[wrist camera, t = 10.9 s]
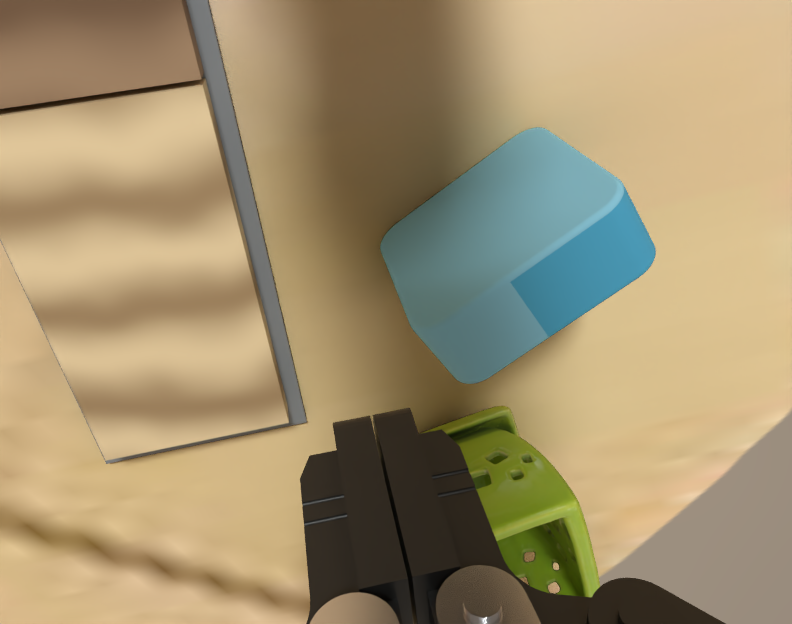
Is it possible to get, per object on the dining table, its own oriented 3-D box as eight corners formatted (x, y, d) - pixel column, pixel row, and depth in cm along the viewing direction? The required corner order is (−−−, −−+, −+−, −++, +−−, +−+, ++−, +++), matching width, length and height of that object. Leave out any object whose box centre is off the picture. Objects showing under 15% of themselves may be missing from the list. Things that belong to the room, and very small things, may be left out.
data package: (413, 285, 43) (464, 397, 33) (374, 237, 40) (415, 341, 30) (566, 176, 41) (670, 258, 31) (534, 119, 38) (635, 188, 28)
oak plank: (-39, 113, 32) (-55, 124, 30) (205, 77, 33) (202, 86, 32) (111, 440, 44) (105, 460, 42) (287, 404, 45) (288, 422, 43)
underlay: (-181, -155, 26) (-189, -156, 26) (163, -190, 28) (162, -192, 28) (107, 458, 45) (106, 463, 45) (306, 417, 46) (306, 422, 46)
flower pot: (390, 548, 56) (424, 696, 45) (335, 437, 48) (360, 584, 37) (542, 491, 56) (612, 626, 45) (511, 372, 48) (585, 499, 37)
